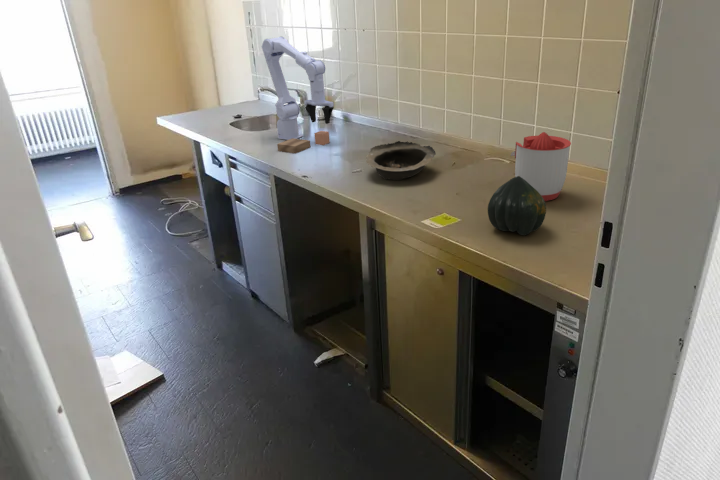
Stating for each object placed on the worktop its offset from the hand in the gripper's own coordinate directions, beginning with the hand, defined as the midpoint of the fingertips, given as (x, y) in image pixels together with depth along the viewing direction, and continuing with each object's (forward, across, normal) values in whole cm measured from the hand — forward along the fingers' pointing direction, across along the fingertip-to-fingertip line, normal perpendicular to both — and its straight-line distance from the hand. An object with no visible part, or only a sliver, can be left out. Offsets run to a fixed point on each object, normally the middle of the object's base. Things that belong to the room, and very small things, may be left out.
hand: (320, 122), depth 235 cm
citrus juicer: (+10, +102, -22) cm, 105 cm away
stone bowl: (+10, +53, -22) cm, 58 cm away
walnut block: (+10, -6, -12) cm, 17 cm away
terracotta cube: (+9, 0, 0) cm, 9 cm away
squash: (+10, +105, -49) cm, 116 cm away
